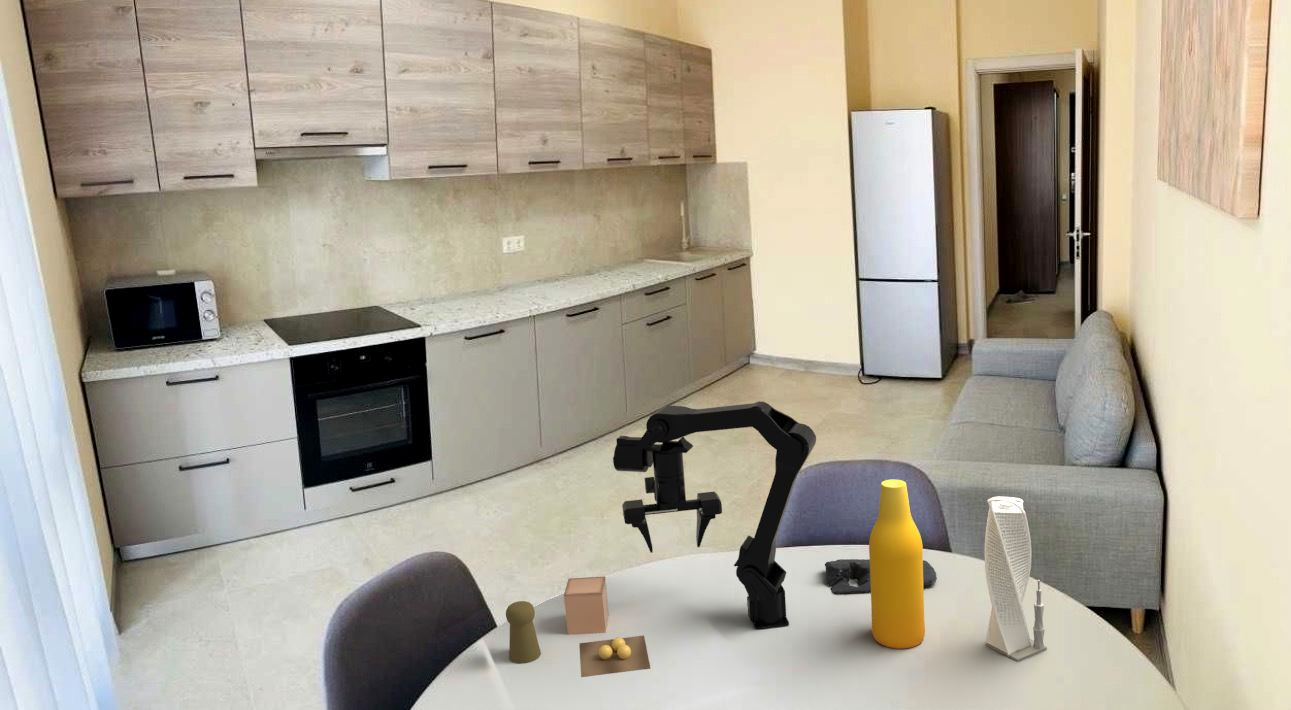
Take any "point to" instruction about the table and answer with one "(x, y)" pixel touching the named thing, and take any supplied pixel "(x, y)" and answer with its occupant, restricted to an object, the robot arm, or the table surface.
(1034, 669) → the table surface
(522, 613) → the olive pawn game piece
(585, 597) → the tan upright cuboid
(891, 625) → the beer bottle
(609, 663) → the walnut pad
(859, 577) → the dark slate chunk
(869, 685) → the table surface
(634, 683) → the table surface
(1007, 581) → the skyscraper
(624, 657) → the amber marbles
